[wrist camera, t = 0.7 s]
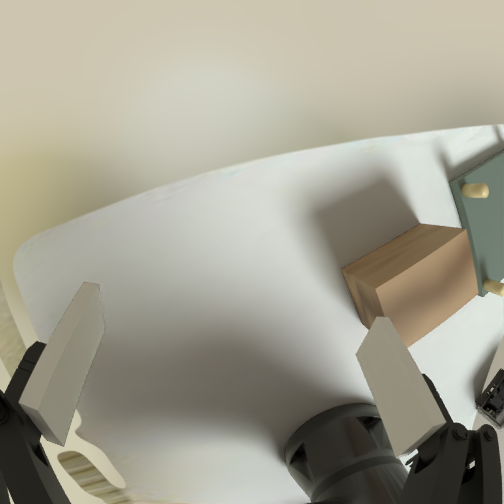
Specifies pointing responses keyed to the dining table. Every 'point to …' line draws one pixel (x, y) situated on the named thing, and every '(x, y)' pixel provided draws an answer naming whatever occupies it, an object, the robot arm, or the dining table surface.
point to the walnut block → (414, 280)
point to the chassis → (484, 220)
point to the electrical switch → (493, 401)
